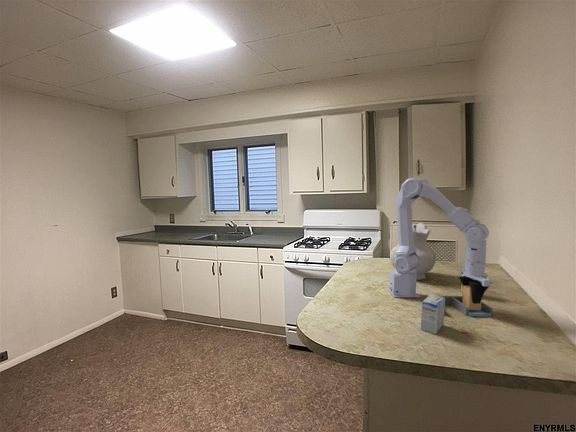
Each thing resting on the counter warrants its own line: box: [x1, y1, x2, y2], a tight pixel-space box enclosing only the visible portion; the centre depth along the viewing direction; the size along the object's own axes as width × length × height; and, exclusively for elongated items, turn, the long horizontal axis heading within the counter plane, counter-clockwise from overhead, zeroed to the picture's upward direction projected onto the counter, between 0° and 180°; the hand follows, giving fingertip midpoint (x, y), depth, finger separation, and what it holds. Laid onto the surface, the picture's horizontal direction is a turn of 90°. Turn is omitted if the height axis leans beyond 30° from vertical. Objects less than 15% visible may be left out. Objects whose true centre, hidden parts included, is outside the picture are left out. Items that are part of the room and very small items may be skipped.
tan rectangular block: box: [462, 286, 483, 310], centre depth 107 cm, size 4×4×7 cm
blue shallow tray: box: [439, 295, 493, 318], centre depth 108 cm, size 16×12×2 cm
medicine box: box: [420, 294, 446, 335], centre depth 94 cm, size 8×4×9 cm, turn 141°
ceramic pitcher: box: [389, 221, 437, 281], centre depth 144 cm, size 22×20×25 cm
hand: (472, 300), depth 107 cm, fingers closed on tan rectangular block, 4 cm apart
